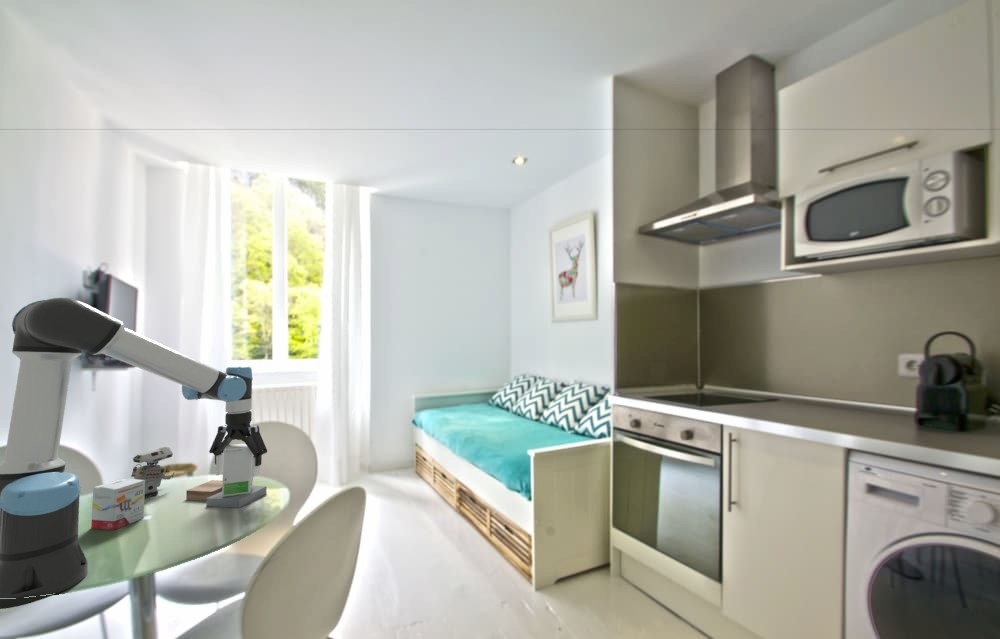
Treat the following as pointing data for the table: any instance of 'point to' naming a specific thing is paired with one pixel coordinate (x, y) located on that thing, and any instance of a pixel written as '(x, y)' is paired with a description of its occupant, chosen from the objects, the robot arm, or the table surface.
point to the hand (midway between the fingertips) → (237, 474)
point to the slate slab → (236, 498)
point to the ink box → (118, 503)
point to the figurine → (151, 469)
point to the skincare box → (237, 470)
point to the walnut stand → (204, 490)
